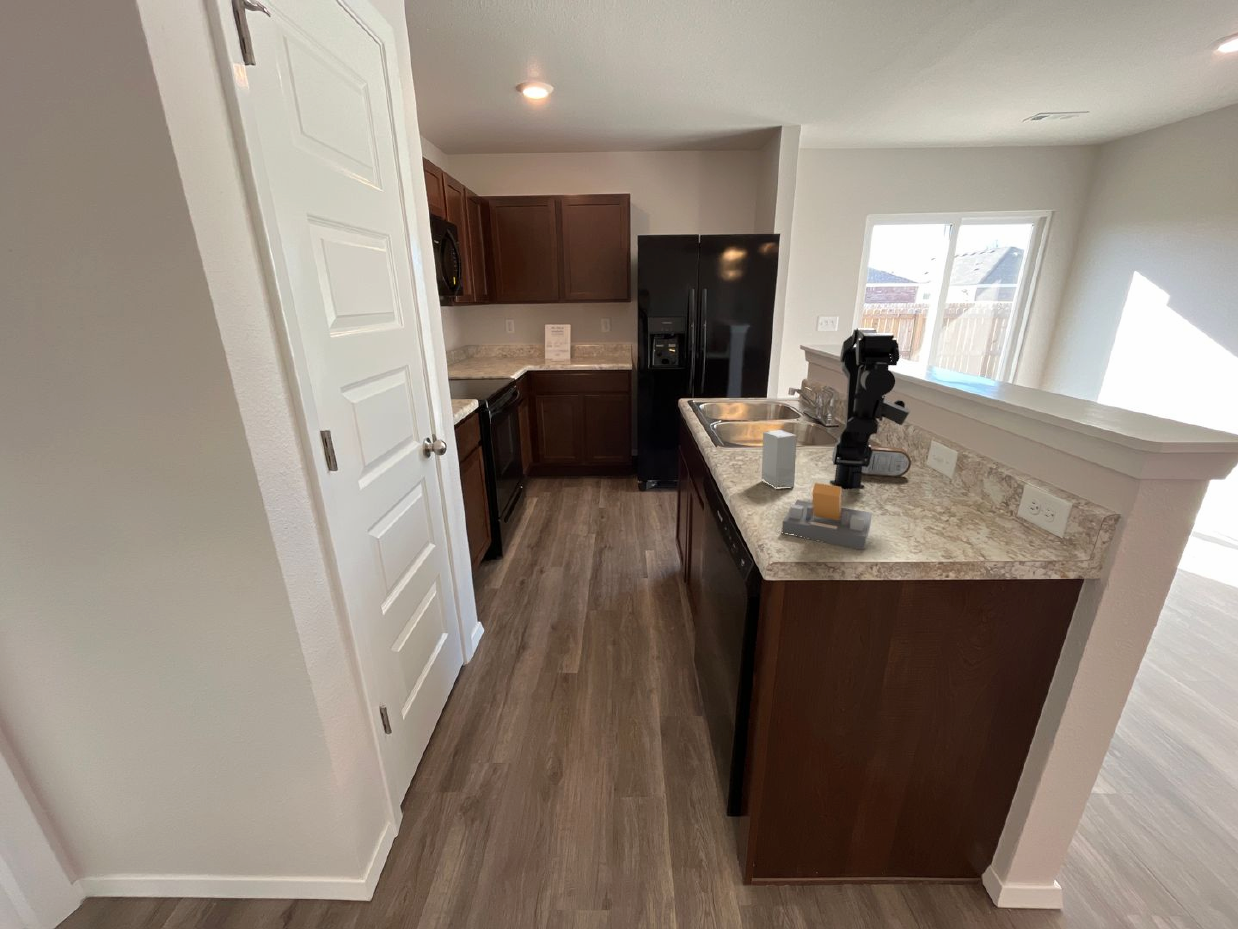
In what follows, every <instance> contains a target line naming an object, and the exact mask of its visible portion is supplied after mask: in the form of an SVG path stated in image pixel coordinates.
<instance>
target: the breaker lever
mask: <svg viewBox="0 0 1238 929" xmlns="http://www.w3.org/2000/svg"><path fill="white" fill-rule="evenodd" d="M811 493H812V503H813V509H814V516H817V517H823V518H828V519H834V520H839V518H840V514H841V508H842V488H841V487H839V486H836V485H833V484H831V485H830V484H824V483H819V482H815V483H814V484H813V489H812V492H811Z"/></svg>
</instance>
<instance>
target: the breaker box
mask: <svg viewBox="0 0 1238 929" xmlns="http://www.w3.org/2000/svg"><path fill="white" fill-rule="evenodd" d="M872 514H873V512H869V511H863V510H858V509H853V508H852V509H851V508H847V507H841V514H840V518H839V520H834V519H828V518H823V517H817V516H814V509H813V502H810V501H804V500H798V499H796V501H795V502H794V504H791V505H790V508H789V511H788V512H787V514H786V516H785V517H784V519H783V520H782V528H781V533H782V532H783V533H788V534H794V535H797V536H802V537H805V538H804V539H806V538H809V539H808V540H811V539H812V540H811V541H816V540H819V541H818V542H820V541H823V542H822V543H825V542H826V544H831V545H834V546H835V545H836V546H842V547H846V548H851V549H856V550H858V551H859V550H860V551H865V547H866V543H867V539H868V536H869V531H870V528H871V522H872V517H873V515H872Z"/></svg>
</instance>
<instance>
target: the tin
mask: <svg viewBox="0 0 1238 929" xmlns="http://www.w3.org/2000/svg"><path fill="white" fill-rule="evenodd" d="M871 449H872V450H873V453H872V456H871V459H870V464H869V466H868V467H863V466H862V475H867V476H877V477H889V478H899V477H902V476H904V475H906V474H907V473H908V472H909V470H910V469H911V466H912V460H911V456H910V455H909V453H908V452H907V451H906V450H905V449H902V448H900V447H888V446H877V445H874V446H873V445H871Z"/></svg>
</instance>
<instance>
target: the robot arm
mask: <svg viewBox="0 0 1238 929" xmlns="http://www.w3.org/2000/svg"><path fill="white" fill-rule="evenodd" d="M899 360H900V348H899V343H898V340H897V338H896V337H895V335H894V333H892V332H878V331H876V328H873V327H857V328H854V329H853V331H852V333H851V336H849V337H848V338H846V339H845V340H843V343H842V346H841V350H840V357H839V363H841V371H842V372H843V374H844V375H845V376H846V378H847V383H846V384H847V388H846V402H845V403H846V404H845V419H844V420H845V423H844V430H843V431H842V433H841V434H840V436H839V437H838V438H837V442H835V445H834V448H833V451H832V459H831V461H832V463H833V465H834V466H836V467H835V468H836V469H835V475H834V476H835V477H834V479H833V480H829V483H830V484H831V485H833V486H839V487H841V490H842V489H843V490H852V489H862V488H865V485H864V484H862V479H863V478H862V477H863V474H862V466H863V467H868V466H869V464H870V459H871V456H872V453H873V450H872V449H871V446H872V444H870V438H871V436H872V435H876V434H878V431H879V428H880V427H881V424H880V422H883V419H887V420H889V421H892V422H894V423H895V424H896V425H899V426H902V425H903V424H904V422H905V420H906V419H907V417H908V416H909V414H910V411H911V410H910V409H909V408H908V407H906V402H905V401H904V400H902V399H899V398H898V399H897V400H895V401H894V402H893V401H889V400H886V395H887V394H889V393H891V391H892V390H893V389H894V387H895V384H896V378H895V375H894V374H893V372H892V371H890V370H889V367H890V366H897V365H898V362H899ZM879 421H880V422H879Z"/></svg>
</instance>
